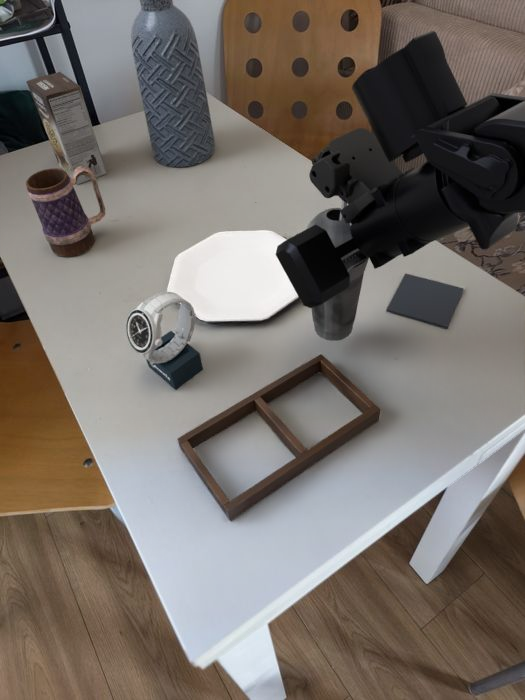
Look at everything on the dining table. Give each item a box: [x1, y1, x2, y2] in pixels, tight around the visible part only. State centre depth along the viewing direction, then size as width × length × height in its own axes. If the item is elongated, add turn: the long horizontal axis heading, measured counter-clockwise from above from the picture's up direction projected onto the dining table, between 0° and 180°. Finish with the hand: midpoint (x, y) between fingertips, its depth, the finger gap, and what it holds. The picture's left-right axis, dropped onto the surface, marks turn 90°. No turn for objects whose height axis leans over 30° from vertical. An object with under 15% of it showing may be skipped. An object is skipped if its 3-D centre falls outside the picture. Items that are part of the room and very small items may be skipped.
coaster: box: [385, 273, 464, 330], centre depth 69 cm, size 8×8×1 cm
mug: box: [25, 165, 106, 258], centre depth 79 cm, size 10×7×12 cm
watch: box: [125, 291, 204, 391], centre depth 60 cm, size 6×8×11 cm
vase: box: [130, 0, 216, 168], centre depth 91 cm, size 12×12×28 cm
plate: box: [166, 229, 300, 324], centre depth 74 cm, size 20×20×2 cm
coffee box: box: [25, 71, 107, 185], centre depth 93 cm, size 9×6×16 cm
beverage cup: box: [305, 199, 370, 342], centre depth 54 cm, size 7×7×20 cm
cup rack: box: [177, 353, 382, 522], centre depth 55 cm, size 10×19×2 cm, turn 125°
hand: (327, 256), depth 55 cm, fingers closed on beverage cup, 7 cm apart
